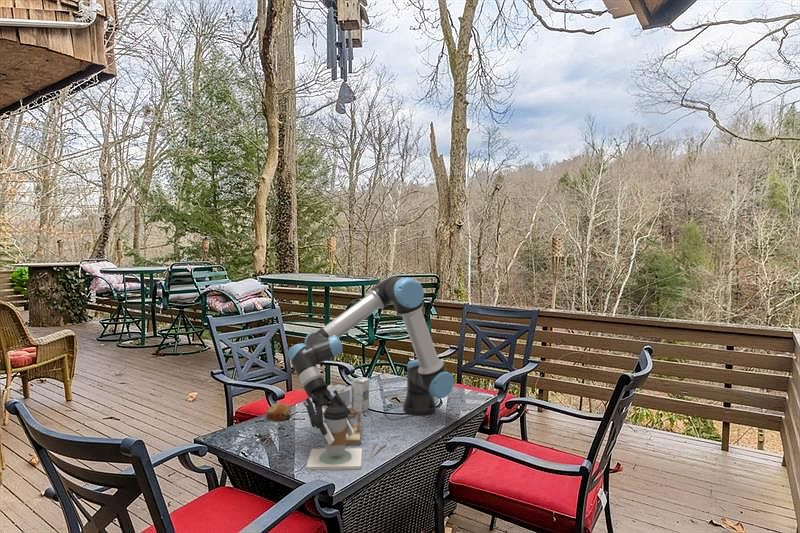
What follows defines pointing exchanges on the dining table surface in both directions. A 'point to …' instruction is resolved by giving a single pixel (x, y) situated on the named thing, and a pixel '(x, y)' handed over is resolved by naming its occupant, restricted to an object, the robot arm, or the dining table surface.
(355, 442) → the toy catapult
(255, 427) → the dining table surface
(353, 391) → the syrup box
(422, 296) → the robot arm
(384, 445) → the tweezers
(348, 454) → the board
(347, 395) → the lumpy-topped squat cylinder
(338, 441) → the coffee cup
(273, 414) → the brown rounded lump
